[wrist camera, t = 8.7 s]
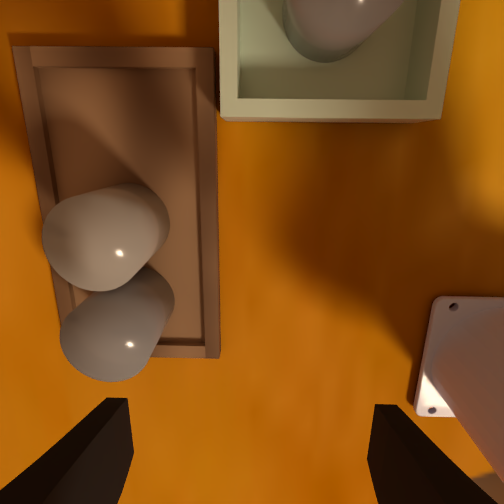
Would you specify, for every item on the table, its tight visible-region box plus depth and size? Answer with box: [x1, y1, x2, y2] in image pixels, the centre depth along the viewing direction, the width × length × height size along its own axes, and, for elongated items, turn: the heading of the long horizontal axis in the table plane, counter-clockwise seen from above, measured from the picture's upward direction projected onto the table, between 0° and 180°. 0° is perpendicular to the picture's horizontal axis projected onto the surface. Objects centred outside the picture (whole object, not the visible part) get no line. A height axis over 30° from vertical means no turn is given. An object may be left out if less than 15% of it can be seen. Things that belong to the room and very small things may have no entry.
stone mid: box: [42, 183, 170, 291], centre depth 16 cm, size 4×4×4 cm
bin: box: [219, 0, 460, 123], centre depth 14 cm, size 9×9×3 cm
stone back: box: [60, 267, 175, 382], centre depth 17 cm, size 4×4×4 cm
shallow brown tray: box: [12, 46, 221, 359], centre depth 18 cm, size 9×16×1 cm, turn 179°
